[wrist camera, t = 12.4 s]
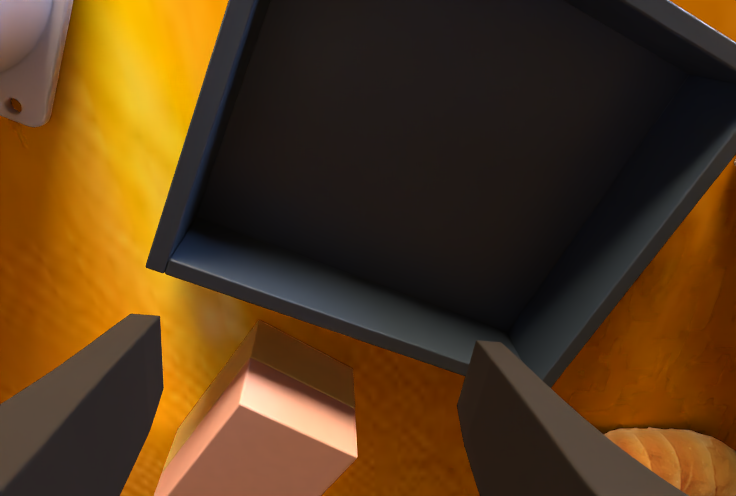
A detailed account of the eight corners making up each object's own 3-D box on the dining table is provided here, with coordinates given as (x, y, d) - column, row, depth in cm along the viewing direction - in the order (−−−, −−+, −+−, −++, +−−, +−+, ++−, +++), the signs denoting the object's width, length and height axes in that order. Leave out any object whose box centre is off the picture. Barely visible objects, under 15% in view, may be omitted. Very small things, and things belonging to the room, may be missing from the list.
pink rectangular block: (177, 428, 24) (141, 527, 19) (258, 318, 21) (239, 403, 17) (267, 466, 25) (253, 565, 21) (353, 368, 23) (358, 457, 18)
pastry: (533, 492, 27) (563, 561, 24) (589, 402, 25) (631, 466, 21) (675, 513, 29) (721, 580, 26) (742, 431, 26) (803, 494, 23)
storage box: (179, 219, 19) (144, 267, 15) (309, -175, 14) (302, -234, 10) (508, 340, 23) (540, 402, 19) (704, 64, 18) (795, 79, 14)
